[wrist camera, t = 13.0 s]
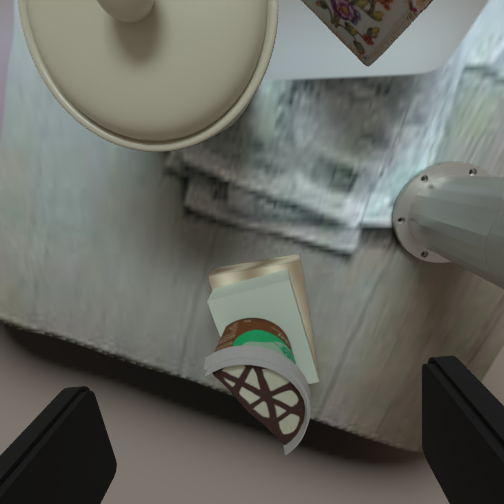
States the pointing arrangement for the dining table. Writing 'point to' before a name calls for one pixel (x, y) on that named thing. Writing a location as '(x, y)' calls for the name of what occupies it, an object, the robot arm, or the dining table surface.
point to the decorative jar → (367, 22)
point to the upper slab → (266, 312)
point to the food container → (264, 377)
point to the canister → (152, 64)
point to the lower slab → (264, 267)
